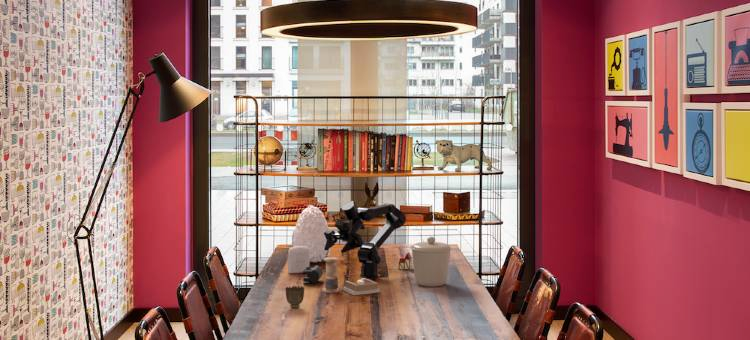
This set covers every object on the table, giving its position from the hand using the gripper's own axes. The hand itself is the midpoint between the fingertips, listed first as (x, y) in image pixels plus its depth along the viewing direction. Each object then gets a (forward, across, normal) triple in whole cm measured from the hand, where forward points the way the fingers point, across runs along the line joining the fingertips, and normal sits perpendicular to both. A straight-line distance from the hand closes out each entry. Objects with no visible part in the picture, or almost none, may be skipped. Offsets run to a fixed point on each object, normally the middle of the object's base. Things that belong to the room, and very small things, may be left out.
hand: (333, 251), depth 373 cm
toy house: (-33, +3, +40) cm, 52 cm away
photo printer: (-2, -31, +20) cm, 37 cm away
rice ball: (-24, -46, +34) cm, 62 cm away
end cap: (+8, -12, +14) cm, 20 cm away
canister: (-16, +32, +28) cm, 45 cm away
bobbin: (+15, +6, +9) cm, 18 cm away
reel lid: (-2, +7, +20) cm, 21 cm away
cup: (+41, +13, -8) cm, 44 cm away
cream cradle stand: (+8, +16, +13) cm, 22 cm away
